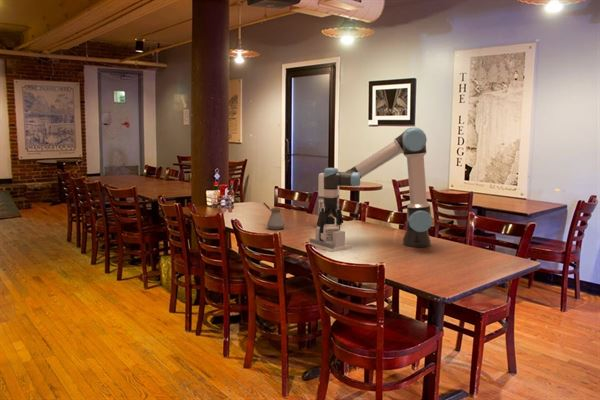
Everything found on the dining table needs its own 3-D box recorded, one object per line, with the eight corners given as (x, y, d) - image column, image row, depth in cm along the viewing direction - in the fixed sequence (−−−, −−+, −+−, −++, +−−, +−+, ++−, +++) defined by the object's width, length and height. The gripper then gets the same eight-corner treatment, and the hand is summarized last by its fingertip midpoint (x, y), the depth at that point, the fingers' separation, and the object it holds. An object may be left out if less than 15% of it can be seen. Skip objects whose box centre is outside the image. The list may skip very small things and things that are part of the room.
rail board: (351, 248, 283) (351, 230, 281) (331, 251, 274) (331, 234, 273) (328, 241, 298) (328, 225, 296) (308, 245, 289) (309, 228, 288)
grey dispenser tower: (317, 229, 332) (318, 174, 327) (321, 226, 342) (321, 172, 337) (335, 230, 329) (336, 174, 324) (338, 227, 340) (339, 173, 335)
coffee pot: (288, 229, 332) (288, 206, 329) (272, 231, 325) (272, 207, 323) (271, 224, 349) (271, 201, 347) (255, 225, 343) (255, 203, 341)
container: (325, 242, 281) (325, 218, 279) (321, 239, 288) (321, 216, 286) (339, 241, 283) (339, 217, 281) (334, 238, 290) (334, 215, 288)
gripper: (341, 194, 292) (340, 233, 295) (310, 197, 278) (309, 239, 281) (350, 195, 286) (349, 236, 289) (319, 199, 272) (318, 241, 276)
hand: (330, 237), depth 285 cm, fingers closed on container, 9 cm apart
